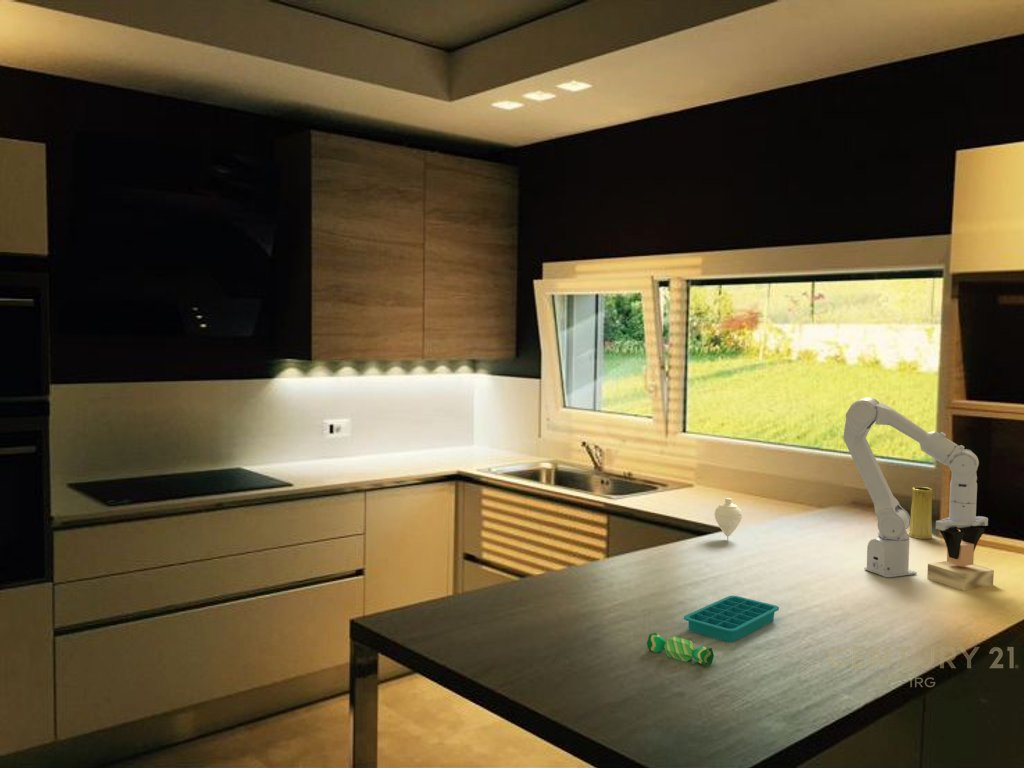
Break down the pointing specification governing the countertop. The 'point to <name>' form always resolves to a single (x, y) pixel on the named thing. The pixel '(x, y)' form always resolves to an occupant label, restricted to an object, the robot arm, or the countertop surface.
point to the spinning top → (728, 516)
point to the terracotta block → (963, 555)
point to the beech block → (960, 575)
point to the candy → (680, 649)
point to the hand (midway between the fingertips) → (960, 557)
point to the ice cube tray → (731, 618)
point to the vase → (921, 513)
